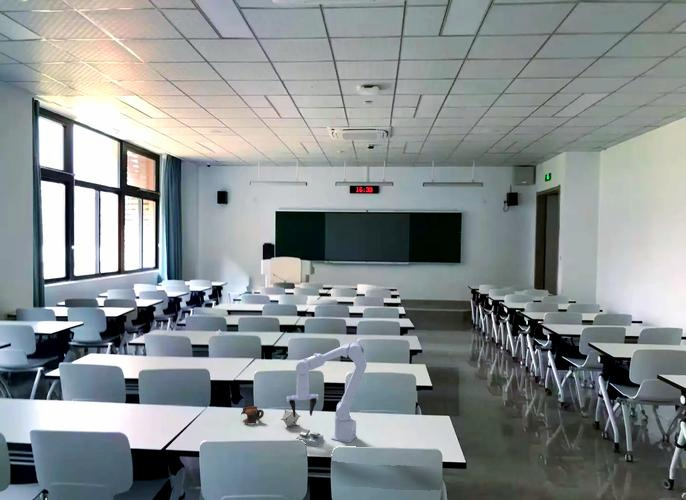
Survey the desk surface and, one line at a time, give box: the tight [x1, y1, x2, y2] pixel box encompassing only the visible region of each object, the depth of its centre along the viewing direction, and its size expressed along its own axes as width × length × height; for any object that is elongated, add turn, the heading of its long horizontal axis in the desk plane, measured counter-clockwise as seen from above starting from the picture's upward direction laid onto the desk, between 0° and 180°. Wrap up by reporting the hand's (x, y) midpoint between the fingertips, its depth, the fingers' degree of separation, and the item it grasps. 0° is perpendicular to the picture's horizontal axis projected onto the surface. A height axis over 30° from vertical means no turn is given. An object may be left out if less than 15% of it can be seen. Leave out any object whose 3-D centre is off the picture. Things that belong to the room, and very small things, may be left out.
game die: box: [280, 409, 301, 429], centre depth 233 cm, size 9×8×10 cm
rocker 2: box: [310, 432, 321, 437], centre depth 215 cm, size 3×4×1 cm
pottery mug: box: [240, 405, 265, 425], centre depth 239 cm, size 12×10×8 cm
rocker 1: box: [299, 428, 311, 437], centre depth 217 cm, size 3×4×1 cm
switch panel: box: [295, 432, 324, 447], centre depth 216 cm, size 10×7×3 cm
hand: (302, 415), depth 221 cm, fingers open, 7 cm apart
